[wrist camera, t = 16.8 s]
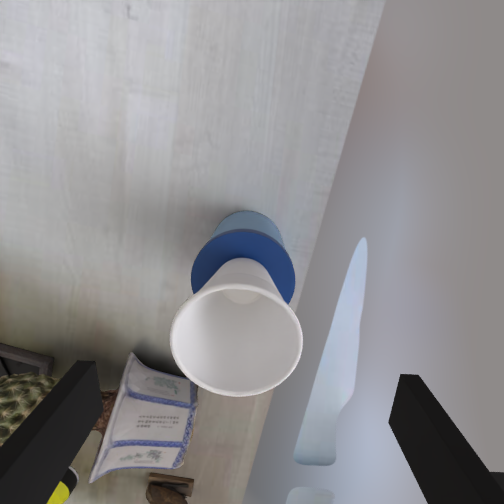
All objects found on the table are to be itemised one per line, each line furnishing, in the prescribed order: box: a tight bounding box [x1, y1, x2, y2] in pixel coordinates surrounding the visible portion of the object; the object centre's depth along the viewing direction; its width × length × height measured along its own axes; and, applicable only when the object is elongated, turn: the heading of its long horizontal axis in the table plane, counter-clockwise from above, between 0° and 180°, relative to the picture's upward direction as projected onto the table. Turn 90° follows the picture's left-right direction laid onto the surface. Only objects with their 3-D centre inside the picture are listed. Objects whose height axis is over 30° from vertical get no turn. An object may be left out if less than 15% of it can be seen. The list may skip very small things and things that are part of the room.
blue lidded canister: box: [191, 211, 295, 304], centre depth 38 cm, size 12×12×14 cm
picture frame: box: [0, 343, 54, 378], centre depth 53 cm, size 13×2×18 cm
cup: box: [170, 258, 303, 397], centre depth 26 cm, size 10×10×11 cm
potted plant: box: [0, 352, 198, 483], centre depth 44 cm, size 18×18×30 cm
